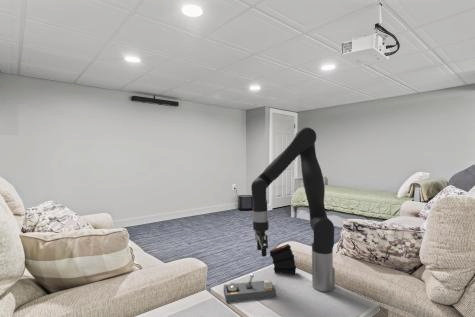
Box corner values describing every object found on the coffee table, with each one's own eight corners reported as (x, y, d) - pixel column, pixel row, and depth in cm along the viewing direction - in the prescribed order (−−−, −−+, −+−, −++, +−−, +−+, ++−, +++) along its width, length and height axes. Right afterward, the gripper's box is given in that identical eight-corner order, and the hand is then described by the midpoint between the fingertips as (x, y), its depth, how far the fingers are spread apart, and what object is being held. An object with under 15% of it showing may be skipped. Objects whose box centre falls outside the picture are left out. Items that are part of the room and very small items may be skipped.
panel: (269, 286, 125) (269, 278, 124) (275, 296, 116) (275, 288, 116) (223, 291, 121) (223, 283, 121) (226, 302, 112) (226, 293, 112)
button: (236, 288, 119) (236, 282, 119) (238, 293, 115) (238, 287, 115) (227, 289, 119) (227, 283, 119) (228, 294, 114) (228, 288, 114)
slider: (270, 285, 118) (270, 279, 118) (272, 288, 116) (272, 281, 116) (263, 286, 118) (263, 280, 118) (265, 288, 116) (265, 282, 116)
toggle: (250, 283, 119) (253, 274, 119) (251, 285, 117) (254, 275, 118) (247, 282, 119) (250, 273, 119) (248, 284, 117) (251, 274, 117)
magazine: (301, 273, 134) (288, 245, 136) (278, 281, 138) (265, 254, 139) (301, 270, 138) (289, 243, 139) (279, 277, 141) (267, 251, 143)
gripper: (272, 222, 120) (273, 257, 121) (264, 215, 135) (265, 247, 135) (256, 224, 119) (257, 259, 120) (249, 216, 133) (250, 248, 134)
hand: (261, 252), depth 127 cm, fingers open, 8 cm apart
